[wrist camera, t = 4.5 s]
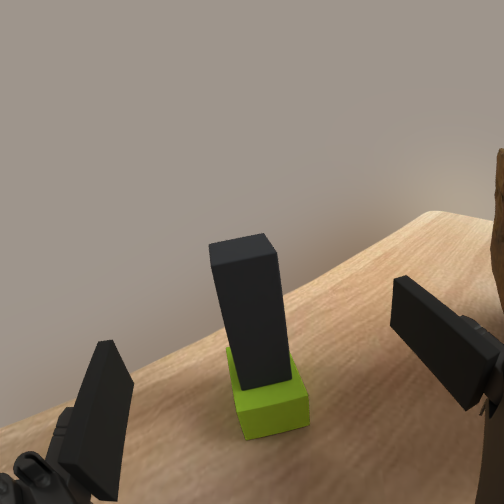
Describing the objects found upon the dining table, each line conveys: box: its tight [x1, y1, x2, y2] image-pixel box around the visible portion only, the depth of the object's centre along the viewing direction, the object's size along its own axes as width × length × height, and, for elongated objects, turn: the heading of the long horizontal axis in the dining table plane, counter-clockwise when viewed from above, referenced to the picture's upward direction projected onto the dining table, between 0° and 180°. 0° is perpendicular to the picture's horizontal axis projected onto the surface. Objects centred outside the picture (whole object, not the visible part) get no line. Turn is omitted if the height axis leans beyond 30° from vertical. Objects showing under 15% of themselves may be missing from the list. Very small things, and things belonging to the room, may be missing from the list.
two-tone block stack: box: [209, 233, 310, 440], centre depth 17 cm, size 6×4×11 cm, turn 9°
